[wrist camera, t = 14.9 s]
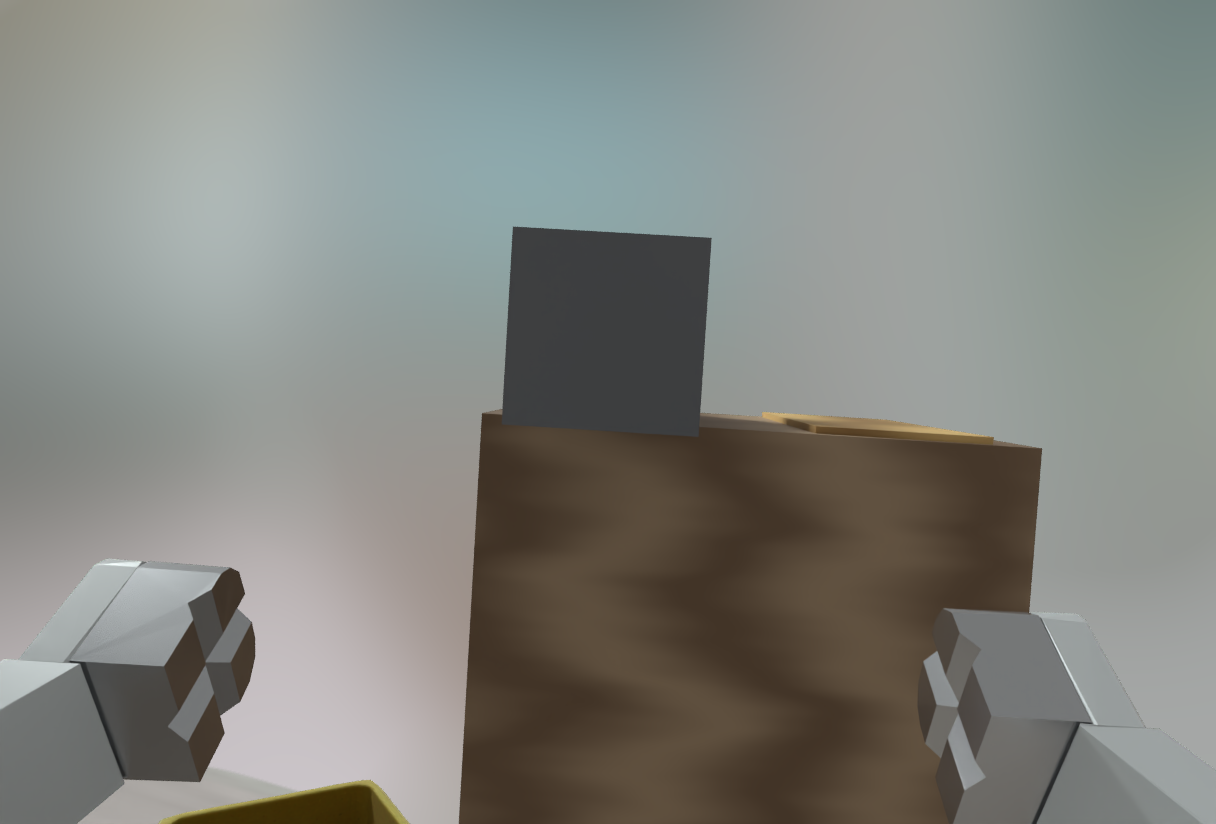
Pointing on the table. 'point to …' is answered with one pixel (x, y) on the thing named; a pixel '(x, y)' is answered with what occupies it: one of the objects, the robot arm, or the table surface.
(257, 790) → the table surface
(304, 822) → the flower pot
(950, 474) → the panel block
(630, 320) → the dark grey square bar
